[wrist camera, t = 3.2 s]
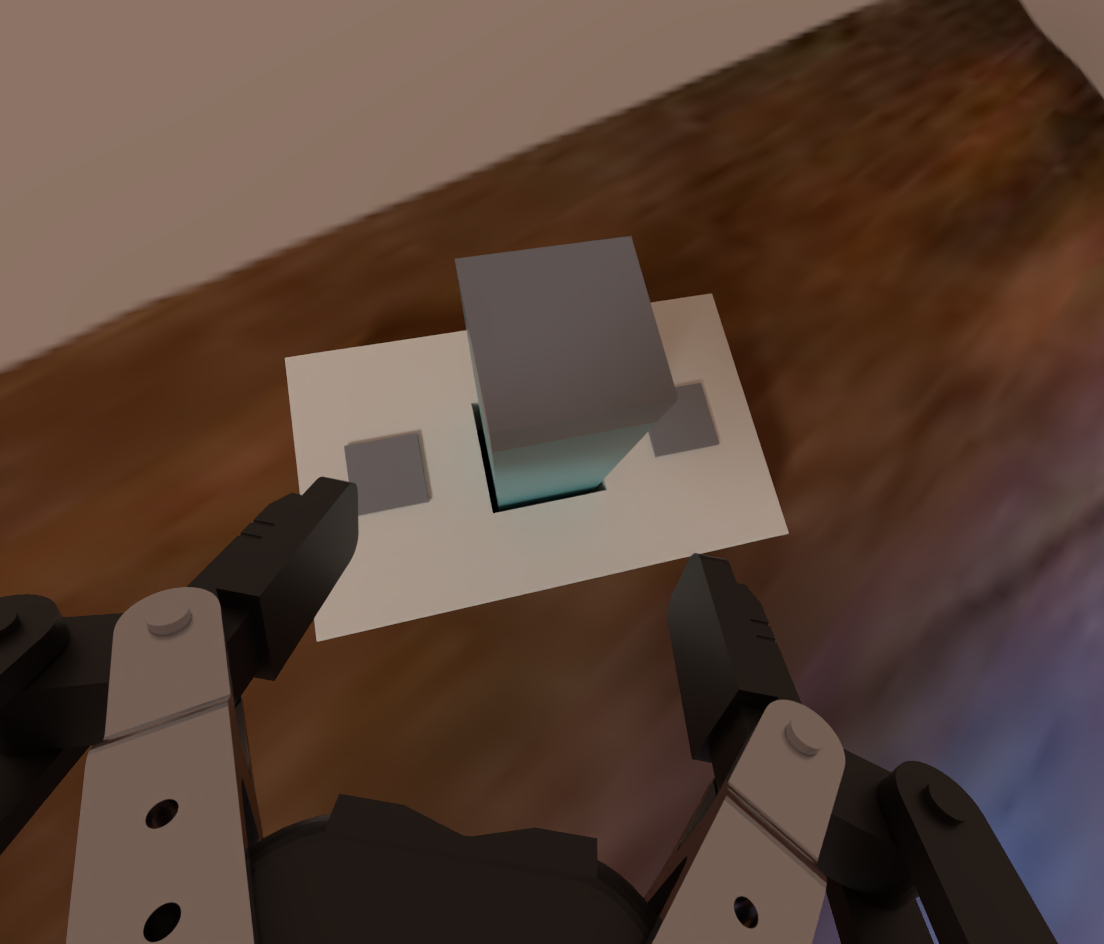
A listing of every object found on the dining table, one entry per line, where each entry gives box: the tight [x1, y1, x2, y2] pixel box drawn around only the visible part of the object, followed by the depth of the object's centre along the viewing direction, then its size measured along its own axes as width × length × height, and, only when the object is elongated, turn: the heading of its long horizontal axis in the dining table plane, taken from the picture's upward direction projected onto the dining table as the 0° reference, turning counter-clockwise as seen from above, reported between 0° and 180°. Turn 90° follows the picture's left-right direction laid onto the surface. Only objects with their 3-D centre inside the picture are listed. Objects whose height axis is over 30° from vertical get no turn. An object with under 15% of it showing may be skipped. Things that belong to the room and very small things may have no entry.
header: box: [285, 293, 788, 642], centre depth 23 cm, size 20×12×4 cm, turn 102°
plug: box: [455, 236, 678, 512], centre depth 18 cm, size 4×4×14 cm
